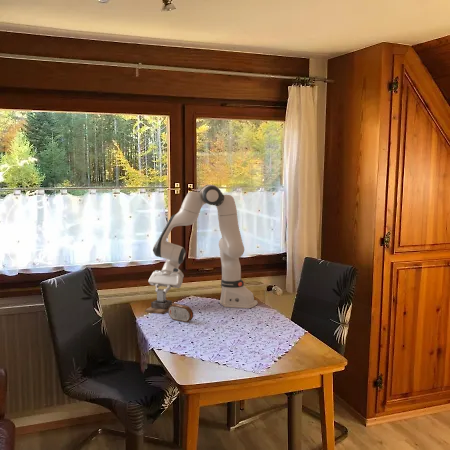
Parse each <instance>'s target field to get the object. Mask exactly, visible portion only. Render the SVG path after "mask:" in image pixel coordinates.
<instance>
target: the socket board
mask: <svg viewBox="0 0 450 450" xmlns="http://www.w3.org/2000/svg"><path fill="white" fill-rule="evenodd" d="M150 303H151V304H150V307H148V308H146V309H145V310H144V312H145V313H150V314H151V313H152V314H159V315H164V314H165V313H167V312H168V308H169V307H170V306H171V305H173V304H177V303H173V301H172V300H170V299H166V303H157V299H155V300H153V301H151V302H150Z"/></svg>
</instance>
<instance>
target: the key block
mask: <svg viewBox="0 0 450 450" xmlns="http://www.w3.org/2000/svg"><path fill="white" fill-rule="evenodd" d="M158 289H159V290H157V292H156V300H157V303H166V300H167V295H166V294H167V293H164V292H163V291H164V288H163V289H161V288H158Z"/></svg>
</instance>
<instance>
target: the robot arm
mask: <svg viewBox="0 0 450 450" xmlns="http://www.w3.org/2000/svg"><path fill="white" fill-rule="evenodd" d="M206 204H207V205H209V206H215V207H216V210H217V219H218V227H219V231H220V233H221V234H220V235H221V238H220V239H219V241H218V249H219V254H220V255H219V256H220V263H221V280H220V281H221V282H220V286H221V287H220V288H221V293H220V299H219V304H220V305H222V306H223V307H224V308H238V309H239V308H240V309H252V308H254V307H255V306H257V305H258V300H255V297H254V293H253V292H252V291H251V290H250V289H249V288H247V287H246V286H245V284H244V283H245V280H242V269H241V268H242V267H241V263H240V257H242V256H243V254H244V252H245V247H244V244H243V243H244V242H243V239H242V235H241V231H240V226H239V220H238V212H237V211H238V210H237V206H236V202H235V199H234V197H233V196H232V195H231V194H223V192H222V190H220V189H219V187H218V186H217V185H215V184H207V185H204V186H203V187H202V188H201V189H199V190H198V191H193V190H192V191H189V192H187V193H186V195H185V197H184V199H183V201H182V203H181V206H180V208H179V210H178V212H177V213H176V214H172V215H171V217H170V218H169V219H168V221H167V223H166V224H165V226H164V228H163V230H162V232H161V233H160V236H159V237H158V239H157V240H156V241H155V243H154V245H153V247H152V252H153V254H154V255H155V257H158V258H160V259H162V258H163V259H165V262H164V264H163V266H162V268H161V270H157V269H156V270H154V271H153V272H152V273H151V275H150V277H149V279H148V283H149V285H151V286H155V290H154V291H155V292H156V293H157V290H159V289H160V288H159V287H165V288H163V290H164V291H163V292H164V293H166V294H167V293H168V292H169V291H170V290H171V289H172V288H174V289H175V288H176V289H180V288H181V286H182V285H183V280H184V276H185V275H184V273H183V272H182V270H181V269H179V267H180V266H181V264H183V262H184V261H185V258H186V256H187V255H186V254H187V251H186V250H185V248H184V247H183V246H181V245H179V244H175V243H172V242H169V241H167V239H168V237H169V235H170V234H171V231H172V230H173V228H175V227H182V226H191V225H193V224H195V223H196V222H197V220H198V218H199V215H200V213H201V209H202V208H203V206H204V205H206Z"/></svg>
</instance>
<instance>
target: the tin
mask: <svg viewBox="0 0 450 450" xmlns="http://www.w3.org/2000/svg"><path fill="white" fill-rule="evenodd" d="M193 311H194V310H192V308H191V307H190V306H188V305H184V304H179V303H176V304H173V305H171V306H170V307H169V308H168V311H167V312H168V316H169V317H170V318H171V319H172V320H174V321H178V322H184V323H187V322H191V321H192V320H193V317H194V312H193Z"/></svg>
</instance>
